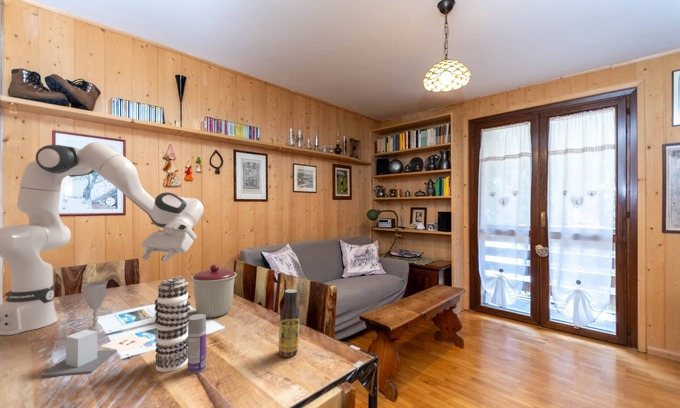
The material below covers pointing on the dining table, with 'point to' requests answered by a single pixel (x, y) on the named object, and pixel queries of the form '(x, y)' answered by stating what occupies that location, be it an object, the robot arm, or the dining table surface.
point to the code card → (126, 343)
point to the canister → (213, 291)
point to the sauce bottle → (289, 325)
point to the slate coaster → (87, 368)
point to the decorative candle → (172, 324)
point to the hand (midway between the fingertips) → (153, 259)
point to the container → (196, 343)
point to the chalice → (95, 300)
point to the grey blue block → (81, 348)
